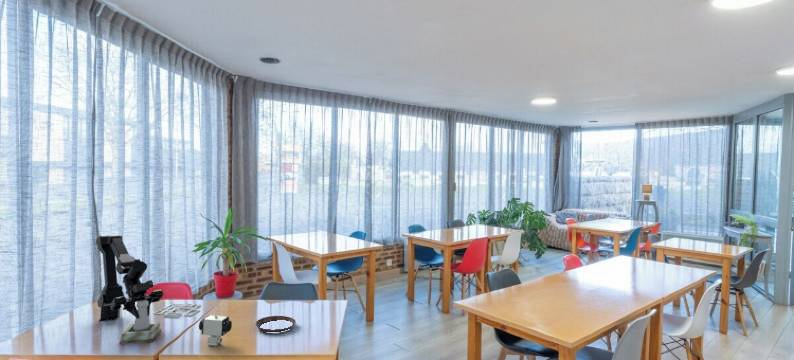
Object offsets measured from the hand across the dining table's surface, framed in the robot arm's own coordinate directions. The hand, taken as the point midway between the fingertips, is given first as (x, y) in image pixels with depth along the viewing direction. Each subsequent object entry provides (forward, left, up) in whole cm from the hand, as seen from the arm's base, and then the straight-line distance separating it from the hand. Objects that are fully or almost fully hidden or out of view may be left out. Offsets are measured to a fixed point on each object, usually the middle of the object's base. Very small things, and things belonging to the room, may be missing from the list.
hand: (143, 317), depth 168 cm
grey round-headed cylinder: (-1, +1, -7) cm, 7 cm away
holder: (-1, +1, -9) cm, 9 cm away
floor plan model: (+10, +33, -10) cm, 36 cm away
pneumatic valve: (+29, -12, -9) cm, 33 cm away
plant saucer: (+53, +2, -9) cm, 54 cm away
